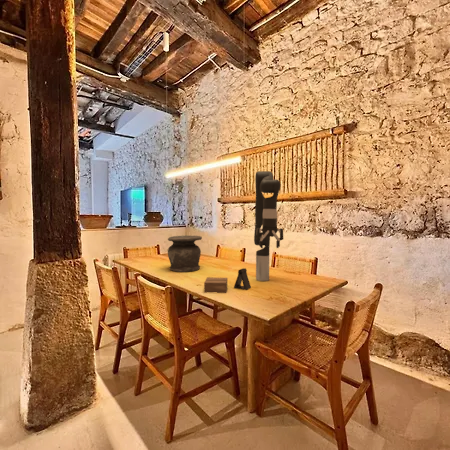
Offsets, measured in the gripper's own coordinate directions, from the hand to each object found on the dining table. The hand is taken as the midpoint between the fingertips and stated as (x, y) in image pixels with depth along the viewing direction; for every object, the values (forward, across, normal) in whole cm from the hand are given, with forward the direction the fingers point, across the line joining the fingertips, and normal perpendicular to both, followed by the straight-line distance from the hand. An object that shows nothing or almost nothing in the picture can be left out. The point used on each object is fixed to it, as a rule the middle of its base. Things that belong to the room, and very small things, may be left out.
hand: (269, 247), depth 140 cm
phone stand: (+29, +12, -23) cm, 39 cm away
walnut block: (+29, +28, -20) cm, 45 cm away
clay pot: (+29, +53, -79) cm, 100 cm away
